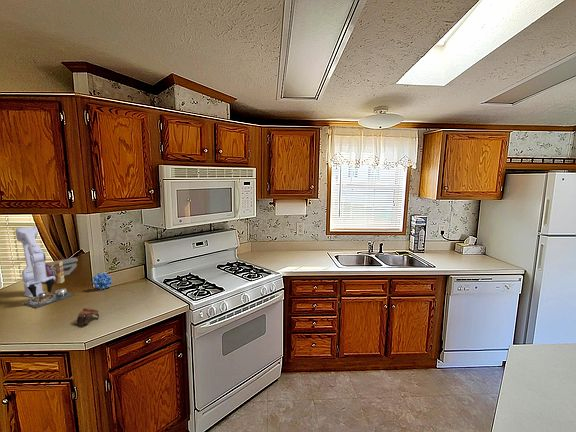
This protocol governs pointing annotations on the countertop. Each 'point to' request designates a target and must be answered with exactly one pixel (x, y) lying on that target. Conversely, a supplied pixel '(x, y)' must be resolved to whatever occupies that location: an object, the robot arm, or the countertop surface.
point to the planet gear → (42, 297)
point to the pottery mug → (86, 316)
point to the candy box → (55, 271)
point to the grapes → (102, 281)
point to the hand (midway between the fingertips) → (42, 294)
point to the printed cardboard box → (67, 265)
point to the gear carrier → (56, 297)
